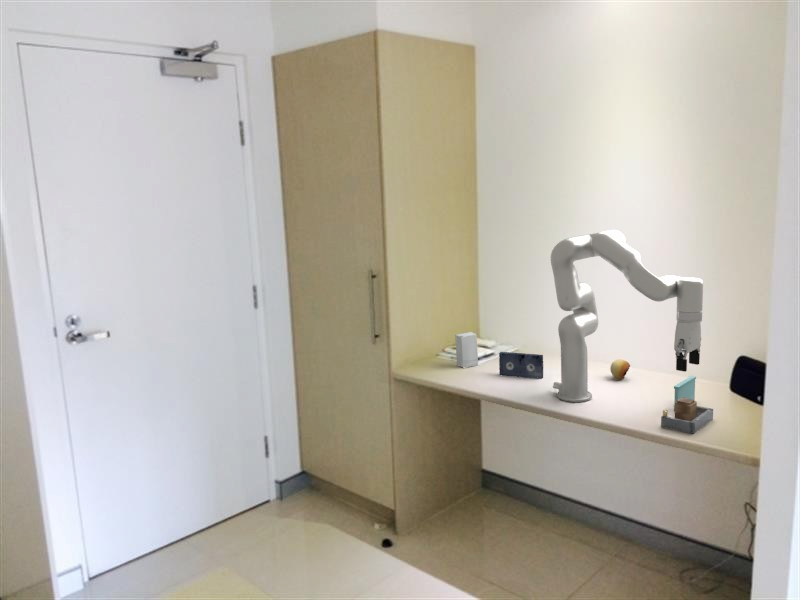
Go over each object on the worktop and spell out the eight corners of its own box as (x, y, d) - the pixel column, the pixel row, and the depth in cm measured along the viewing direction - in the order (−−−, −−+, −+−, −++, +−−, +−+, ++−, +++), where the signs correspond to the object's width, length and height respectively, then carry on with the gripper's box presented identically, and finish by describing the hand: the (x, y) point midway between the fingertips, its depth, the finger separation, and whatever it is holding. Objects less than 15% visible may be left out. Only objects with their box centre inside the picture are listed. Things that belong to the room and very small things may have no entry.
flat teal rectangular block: (673, 410, 222) (673, 386, 220) (690, 399, 232) (691, 375, 231) (678, 411, 221) (678, 387, 219) (695, 400, 231) (696, 376, 230)
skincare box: (471, 362, 295) (470, 331, 292) (478, 365, 289) (477, 333, 287) (455, 365, 291) (454, 333, 289) (462, 368, 286) (461, 336, 283)
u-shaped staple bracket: (660, 426, 209) (661, 410, 208) (681, 412, 220) (682, 397, 219) (692, 434, 202) (693, 417, 201) (713, 419, 213) (713, 403, 212)
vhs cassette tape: (543, 377, 267) (543, 354, 266) (541, 379, 265) (541, 356, 263) (501, 373, 276) (500, 351, 274) (499, 375, 273) (498, 353, 272)
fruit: (627, 375, 264) (627, 356, 262) (632, 381, 255) (632, 362, 254) (608, 376, 264) (608, 357, 263) (612, 382, 256) (612, 362, 255)
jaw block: (674, 422, 212) (674, 400, 210) (680, 418, 215) (681, 396, 214) (689, 426, 208) (690, 404, 207) (696, 422, 211) (696, 400, 210)
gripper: (688, 310, 216) (687, 359, 219) (665, 319, 204) (664, 371, 207) (712, 312, 210) (710, 363, 213) (689, 322, 199) (688, 375, 202)
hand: (687, 367), depth 210 cm, fingers open, 9 cm apart
